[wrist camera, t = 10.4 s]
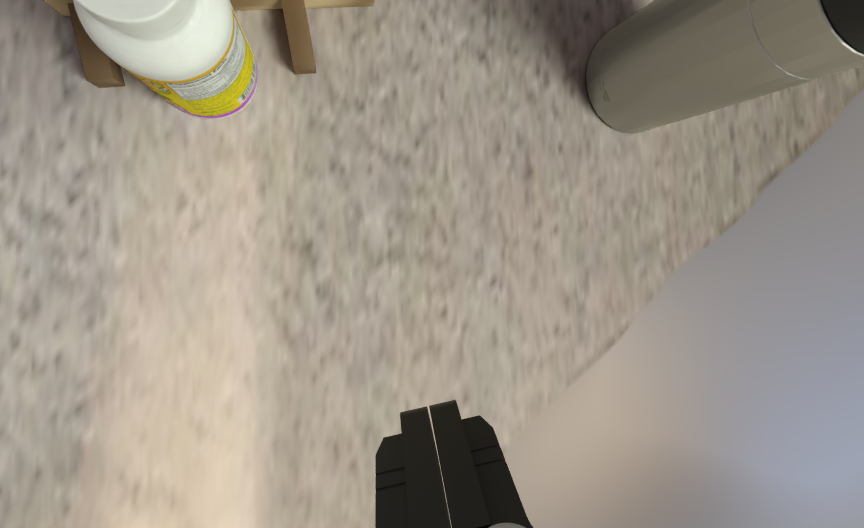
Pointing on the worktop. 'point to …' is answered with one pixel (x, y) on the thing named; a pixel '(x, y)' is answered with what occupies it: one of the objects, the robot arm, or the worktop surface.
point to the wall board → (293, 4)
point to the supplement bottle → (178, 50)
